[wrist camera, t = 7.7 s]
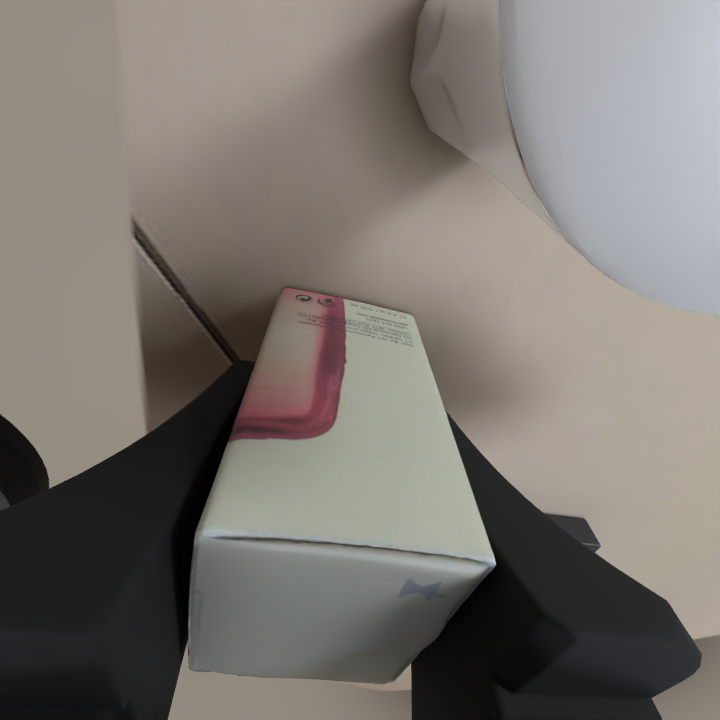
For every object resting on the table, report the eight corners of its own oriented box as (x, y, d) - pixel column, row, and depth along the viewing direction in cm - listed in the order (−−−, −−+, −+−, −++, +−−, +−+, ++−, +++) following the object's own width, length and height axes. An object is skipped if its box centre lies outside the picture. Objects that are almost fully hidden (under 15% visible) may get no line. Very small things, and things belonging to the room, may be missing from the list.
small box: (280, 280, 11) (181, 528, 4) (417, 312, 12) (508, 567, 5) (260, 407, 14) (179, 681, 7) (372, 428, 14) (394, 693, 8)
